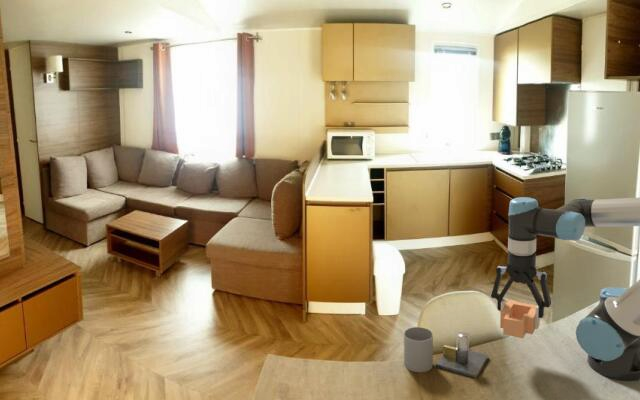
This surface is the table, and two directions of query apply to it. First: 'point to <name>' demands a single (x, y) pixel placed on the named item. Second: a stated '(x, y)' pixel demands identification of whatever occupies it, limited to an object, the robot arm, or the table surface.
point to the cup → (418, 349)
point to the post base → (464, 367)
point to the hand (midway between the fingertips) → (519, 323)
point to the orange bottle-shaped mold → (518, 319)
